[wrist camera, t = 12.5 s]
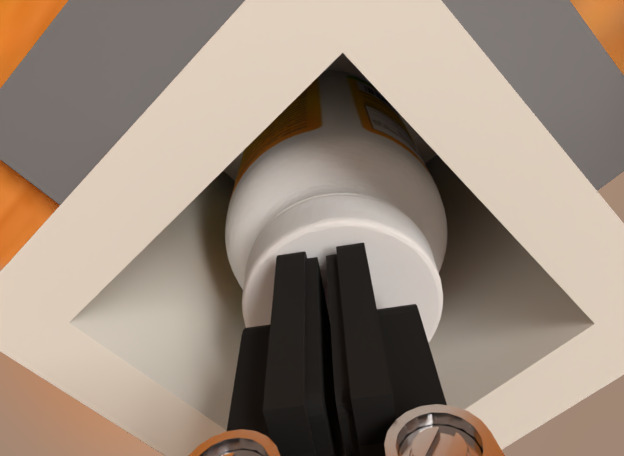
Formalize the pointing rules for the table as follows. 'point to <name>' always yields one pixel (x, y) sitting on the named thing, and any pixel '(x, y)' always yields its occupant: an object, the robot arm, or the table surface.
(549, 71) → the mat
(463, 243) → the sleeve
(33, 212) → the table surface
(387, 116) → the supplement bottle
